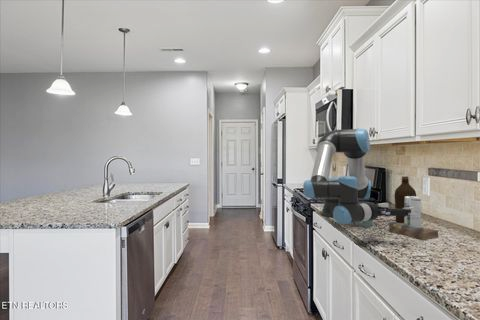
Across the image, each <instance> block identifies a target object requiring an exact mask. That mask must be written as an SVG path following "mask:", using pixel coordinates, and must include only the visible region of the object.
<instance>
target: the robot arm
mask: <svg viewBox="0 0 480 320" xmlns="http://www.w3.org/2000/svg"><path fill="white" fill-rule="evenodd" d="M370 144H371V142H370V136H369V132H368V130H367V129H365V128H355V129H354V128H353V129H352V128H351V129H350V128H349V129H333V130H330V131H328V132H327V133H325V134H324V135H323V136H321V138H320V139H319V140H318V142H317V145H316V152H317V153H316V157H315V161H314V165H313V168H312V172H311V177H310V179H307V180H304V182H303V188H302V189H303V190H302V191H303V196H304V197H306V198H310V199H324V203H323V206H322V209H321V216H323V217H327V218H333V219H334V221H335V222H336V223H338V224H340V225H342V224H343V225H345V224H347V225H349V224H353V223H354V224H355V222H360V223H362V221H370V220H373V221H376V220H377V219H378V217H382V216H384V217H396V216H404V217H406V216H408V214H413V213H415V208H414V207H408V208H403V209H395V208H391V207H390V208H389V203H390V202H382V203H378V202H375V201H374V202H372V203H361V204H358V202H359V200H369V199H370V196H371V190H372V181H371V180H370V179H368V177H367V176H366V169H365V156H366V154H367V153H369V152H370V151H371V150H370V149H371V146H370ZM336 153H343V154H344V156H345V157H346V158H347V159H346V160H347V168H348V169H347V170H348V176H347V175H341V176H336V177H330V173H331V166H332V162H333V158H334V157H333V156H335V154H336Z"/></svg>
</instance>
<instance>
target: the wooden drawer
mask: <svg viewBox="0 0 480 320" xmlns="http://www.w3.org/2000/svg"><path fill="white" fill-rule="evenodd" d="M388 231H389V232H390V233H393V234H398V235H402V236H406V237H409V238H413V239H417V240H422V241H425V240H430V239H436V238H439V230H438V229H437V230H436V229H433V228H427V227H422V226H421V228H418V227H413V226H409V225H404V223H397V222H396V221H391V220H390V221H388Z"/></svg>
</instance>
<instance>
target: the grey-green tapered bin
mask: <svg viewBox="0 0 480 320" xmlns="http://www.w3.org/2000/svg"><path fill="white" fill-rule="evenodd" d="M361 203H373V202H370V201H358V204H361ZM373 223H374V220H370V221H362V223H360V222H355V223H354V225H355V226H356V227H359V228H370V227H371V228H372V227H373Z"/></svg>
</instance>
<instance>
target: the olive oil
mask: <svg viewBox="0 0 480 320" xmlns="http://www.w3.org/2000/svg"><path fill="white" fill-rule="evenodd" d="M409 181H410V179H409V176H406V175H405V176H401V184H400V185H399V186H398V187H397V188H396V189H395V191H394V209H403V208H405V196H414V197H417V191H416V190H415V188H414V187H413V186H412V185H410V183H409ZM395 223H400V224H401V223H404V216H395Z"/></svg>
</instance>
